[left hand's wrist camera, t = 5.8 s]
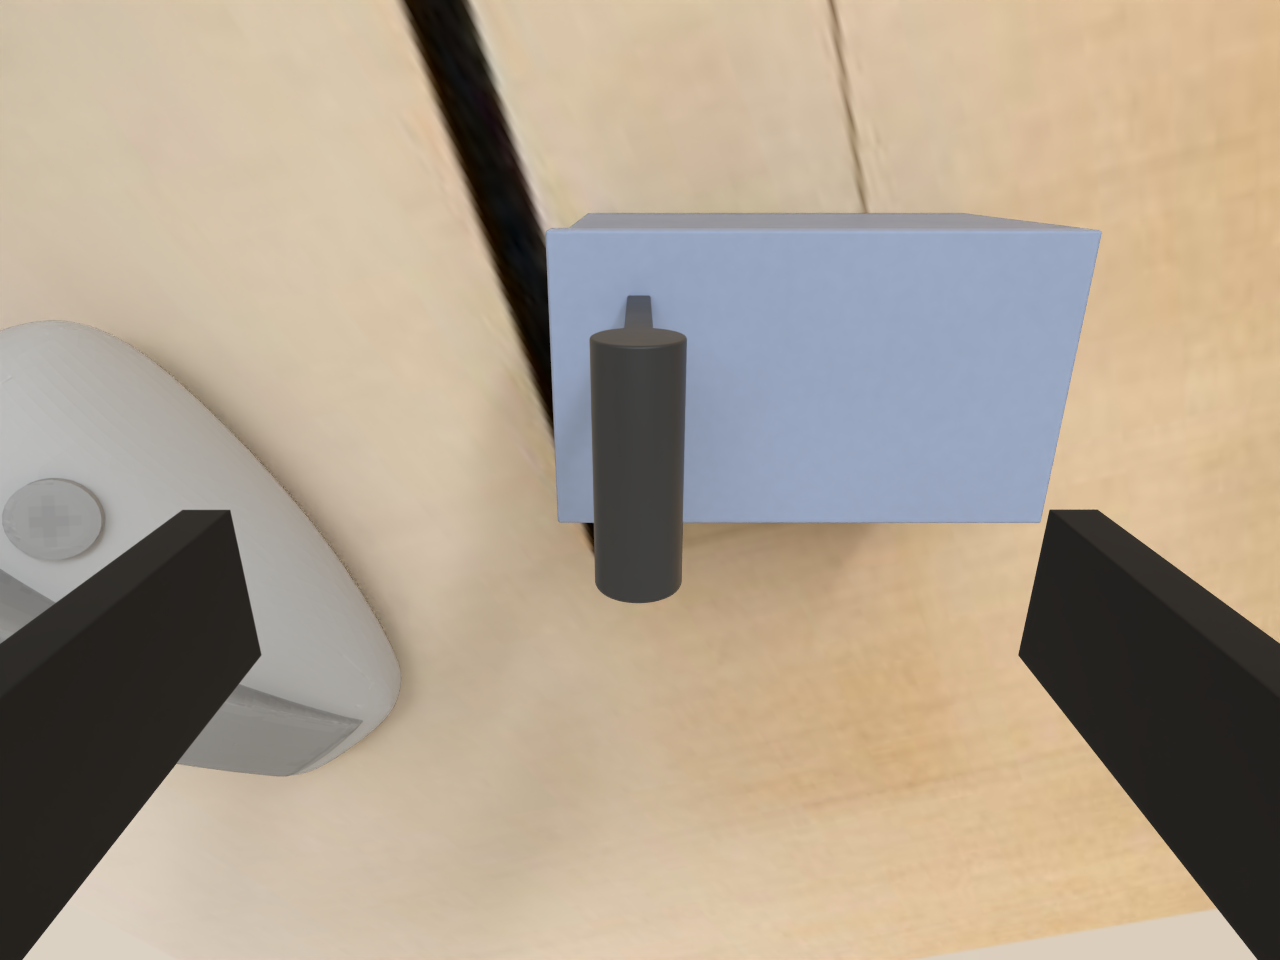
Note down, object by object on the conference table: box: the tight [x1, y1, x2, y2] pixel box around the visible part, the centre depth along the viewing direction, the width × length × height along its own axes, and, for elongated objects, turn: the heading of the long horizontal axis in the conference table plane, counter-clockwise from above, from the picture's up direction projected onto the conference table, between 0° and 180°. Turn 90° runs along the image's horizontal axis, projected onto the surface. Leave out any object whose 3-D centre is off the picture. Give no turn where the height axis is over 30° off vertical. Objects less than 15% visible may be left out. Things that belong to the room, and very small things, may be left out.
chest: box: [570, 213, 1078, 228], centre depth 30 cm, size 16×9×9 cm, turn 90°
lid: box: [546, 228, 1101, 603], centre depth 21 cm, size 16×9×9 cm, turn 90°
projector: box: [0, 321, 401, 776], centre depth 31 cm, size 22×23×15 cm
